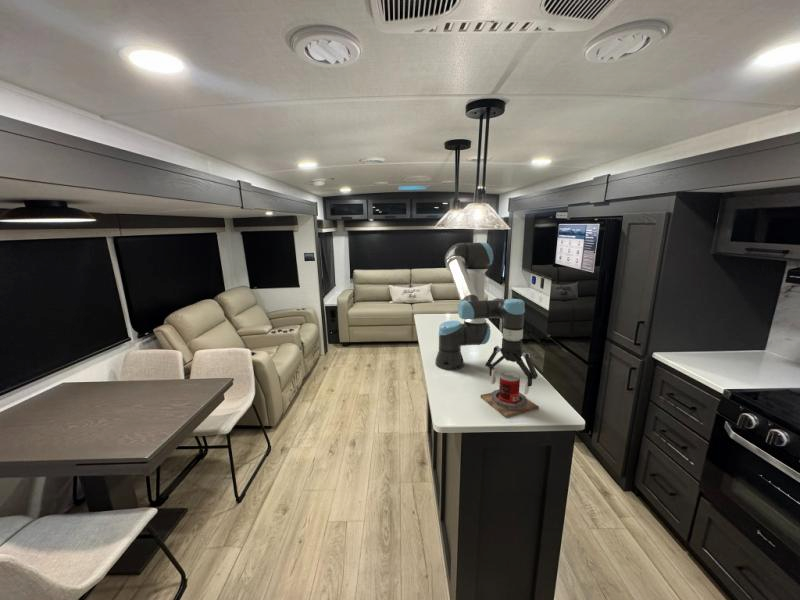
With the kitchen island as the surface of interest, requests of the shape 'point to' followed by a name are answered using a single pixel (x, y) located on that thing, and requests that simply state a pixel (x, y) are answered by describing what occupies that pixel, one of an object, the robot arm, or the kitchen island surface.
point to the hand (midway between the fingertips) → (509, 388)
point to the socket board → (507, 411)
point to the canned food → (509, 387)
